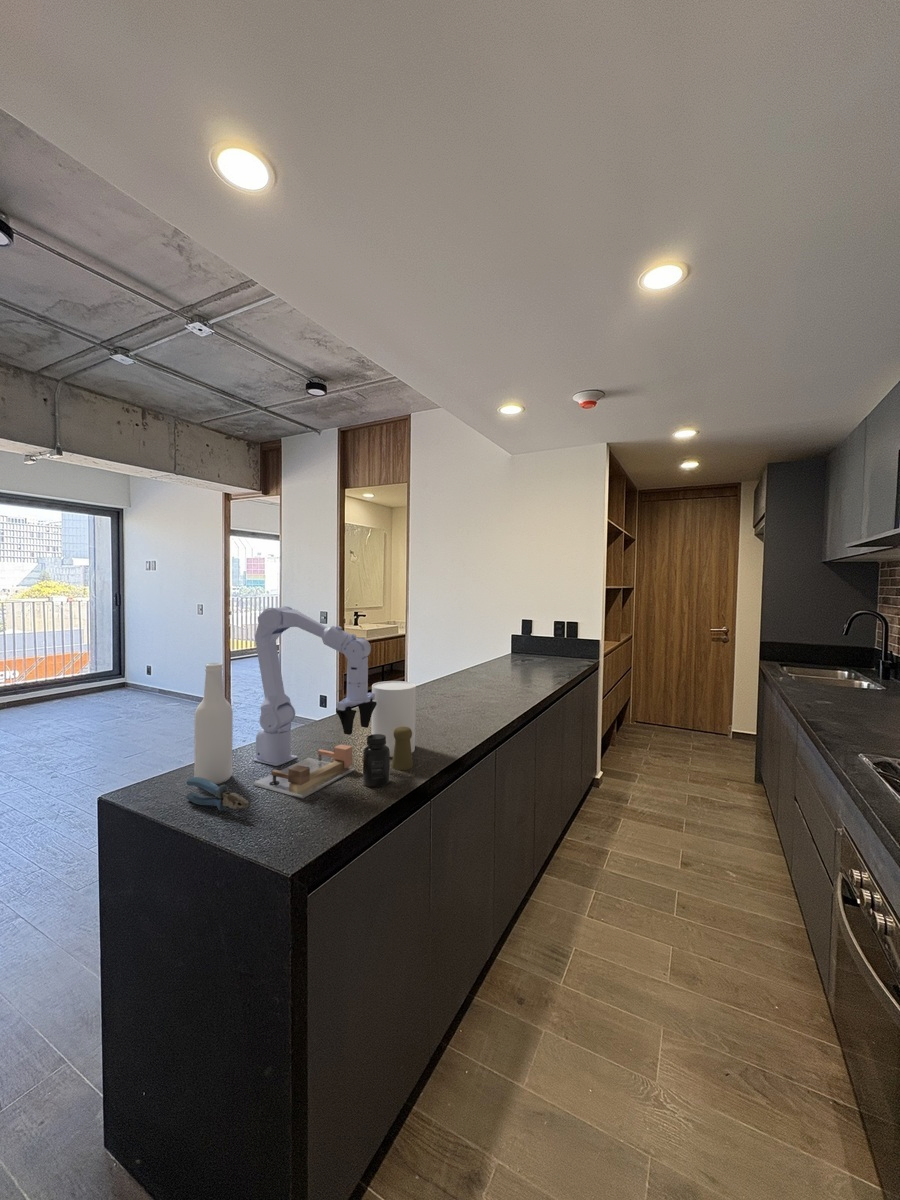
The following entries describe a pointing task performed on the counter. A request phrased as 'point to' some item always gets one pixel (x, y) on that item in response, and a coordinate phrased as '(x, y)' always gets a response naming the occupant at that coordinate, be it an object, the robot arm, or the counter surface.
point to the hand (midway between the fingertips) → (356, 730)
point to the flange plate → (314, 765)
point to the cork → (402, 749)
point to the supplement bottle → (376, 761)
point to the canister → (394, 710)
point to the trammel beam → (307, 775)
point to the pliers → (221, 793)
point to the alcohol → (213, 730)
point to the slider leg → (339, 754)
